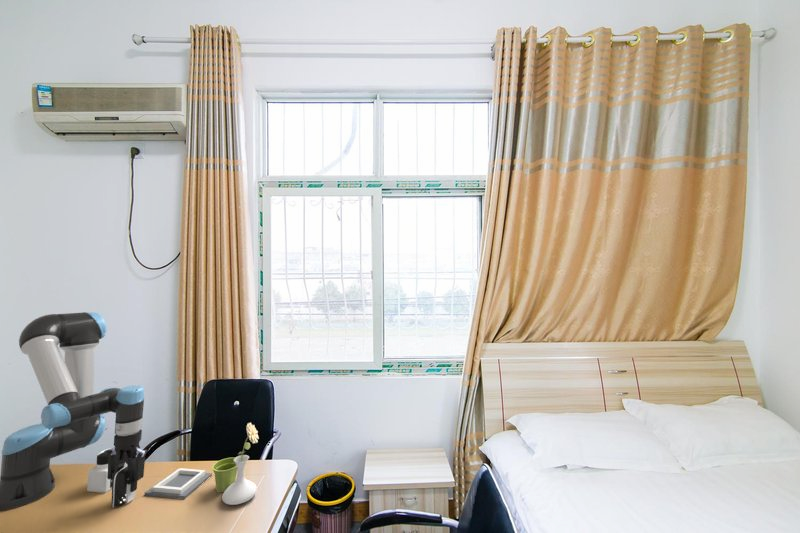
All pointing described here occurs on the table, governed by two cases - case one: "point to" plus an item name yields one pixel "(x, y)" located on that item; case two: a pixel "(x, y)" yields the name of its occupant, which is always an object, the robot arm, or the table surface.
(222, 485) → the plant pot
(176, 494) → the tray
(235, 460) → the flower in vase
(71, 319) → the robot arm
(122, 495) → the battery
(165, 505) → the table surface
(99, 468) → the container
